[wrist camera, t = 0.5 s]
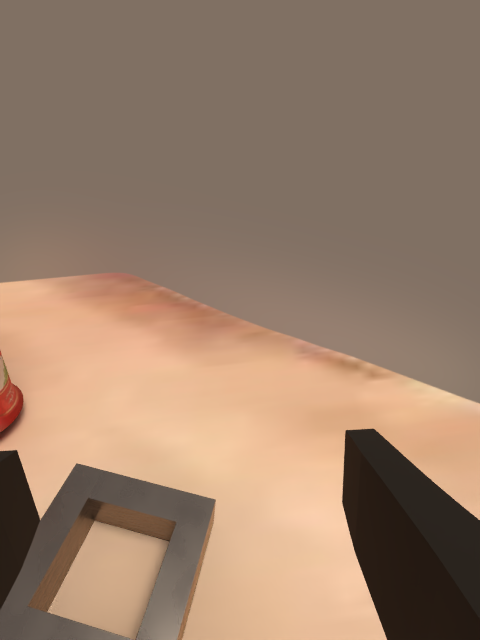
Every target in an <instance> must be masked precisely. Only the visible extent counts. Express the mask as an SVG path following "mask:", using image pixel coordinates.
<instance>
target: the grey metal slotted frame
mask: <svg viewBox="0 0 480 640" xmlns="http://www.w3.org/2000/svg"><path fill="white" fill-rule="evenodd" d="M215 502H216V500H215V499H211V498H207V497H203V496H199V495H196V494H192V493H188V492H184V491H180V490H176V489H173V488H169V487H165V486H161V485H157V484H153V483H150V482H146V481H142V480H138V479H134V478H131V477H127V476H123V475H119V474H115V473H111V472H108V471H104V470H100V469H96V468H92V467H89V466H85V465H81V464H76V465H75V467H74V468H73V470H72V471H71V473H70V475H69V476H68V478H67V479H66V481H65V482H64V484H63V486H62V487H61V489H60V490H59V492H58V494H57V495H56V497H55V498H54V500H53V501H52V503H51V505H50V506H49V508H48V509H47V511H46V513H45V514H44V516H43V517H42V519H41V520H40V522H39V525H38V528H37V530H36V533H35V536H34V538H33V541H32V544H31V546H30V549H29V551H28V554H27V556H26V559H25V561H24V564H23V566H22V569H21V571H20V573H19V575H18V577H17V579H16V581H15V583H14V585H13V587H12V589H11V590H10V592H9V594H8V596H7V598H6V600H5V602H4V604H3V606H2V608H1V610H0V640H133V639H130V638H127V637H124V636H120V635H117V634H114V633H111V632H108V631H104V630H101V629H98V628H95V627H92V626H89V625H85V624H82V623H79V622H76V621H73V620H69V619H66V618H63V617H60V616H57V615H54V614H50V613H47V611H48V609H49V607H50V605H51V603H52V601H53V599H54V597H55V595H56V593H57V592H58V590H59V588H60V586H61V584H62V582H63V580H64V578H65V576H66V574H67V572H68V570H69V568H70V566H71V565H72V563H73V561H74V559H75V557H76V555H77V553H78V551H79V549H80V547H81V545H82V543H83V541H84V540H85V538H86V536H87V534H88V532H89V530H90V528H91V526H92V524H93V522H94V520H96V521H100V522H103V523H107V524H110V525H114V526H118V527H121V528H125V529H128V530H132V531H136V532H139V533H143V534H146V535H150V536H153V537H157V538H161V539H164V540H168V541H170V542H169V545H168V548H167V551H166V554H165V557H164V560H163V563H162V566H161V568H160V571H159V574H158V577H157V580H156V583H155V586H154V589H153V592H152V594H151V597H150V600H149V603H148V606H147V609H146V612H145V615H144V618H143V620H142V623H141V626H140V629H139V632H138V635H137V638H136V640H182V637H183V633H184V630H185V626H186V622H187V618H188V615H189V611H190V607H191V604H192V600H193V596H194V592H195V589H196V585H197V581H198V577H199V574H200V570H201V566H202V563H203V559H204V555H205V551H206V548H207V544H208V540H209V537H210V533H211V529H212V525H213V522H214V512H215Z"/></svg>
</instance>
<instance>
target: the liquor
mask: <svg viewBox="0 0 480 640" xmlns="http://www.w3.org/2000/svg"><path fill="white" fill-rule="evenodd" d="M22 405H23V395H22V392H21V390H20V389H19V388H18V387H17V386H15V385H14V384H12V383H11V380H10V378H9V375H8V372H7V369H6V366H5V363H4V360H3V357H2V354H1V351H0V432H1V431H3V430H4V429H6V428H7V427H8V426H9V425H10V424H11V423H12V422H13V421H14V420H15V419H16V417H17V416H18V415H19V413H20V411H21V409H22Z"/></svg>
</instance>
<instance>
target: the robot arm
mask: <svg viewBox="0 0 480 640" xmlns="http://www.w3.org/2000/svg"><path fill="white" fill-rule="evenodd" d="M342 503H343V507H344V511H345V515H346V519H347V523H348V527H349V531H350V535H351V539H352V543H353V546H354V550H355V553H356V556H357V559H358V562H359V564H360V567H361V570H362V573H363V575H364V578H365V581H366V583H367V586H368V589H369V592H370V594H371V597H372V600H373V602H374V605H375V608H376V611H377V613H378V616H379V619H380V621H381V624H382V627H383V629H384V632H385V635H386V637H387V640H480V520H478V519H477V518H476V517H475V516H474V515H472V514H471V513H470V512H469V511H467V510H466V509H465V508H464V507H462V506H461V505H460V504H459V503H458V502H456V501H455V500H454V499H453V498H452V497H450V496H449V495H448V494H447V493H446V492H445V491H443V490H442V489H441V488H440V487H439V486H437V485H436V484H435V483H434V482H433V481H432V480H430V479H429V478H428V477H427V476H426V475H425V474H424V473H423V472H421V471H420V470H419V469H418V468H417V467H416V466H415V465H414V464H412V463H411V462H410V461H409V460H408V459H407V458H406V457H405V456H403V455H402V454H401V453H400V452H399V451H398V450H397V449H396V448H395V447H394V446H392V445H391V444H390V443H389V442H388V441H387V440H386V439H385V438H384V437H382V436H381V435H380V434H379V433H378V432H377V431H376V430H375V429H361V430H346V433H345V455H344V476H343V498H342ZM39 522H40V518H39V515H38V512H37V509H36V506H35V503H34V500H33V497H32V494H31V491H30V488H29V485H28V482H27V479H26V476H25V473H24V470H23V467H22V464H21V461H20V458H19V455H18V452H17V450H13V451H0V610H1V608H2V606H3V604H4V602H5V600H6V598H7V596H8V594H9V592H10V590H11V589H12V587H13V585H14V583H15V581H16V579H17V577H18V575H19V573H20V571H21V569H22V566H23V564H24V561H25V559H26V556H27V554H28V551H29V549H30V546H31V544H32V541H33V538H34V536H35V533H36V530H37V528H38V525H39Z"/></svg>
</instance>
